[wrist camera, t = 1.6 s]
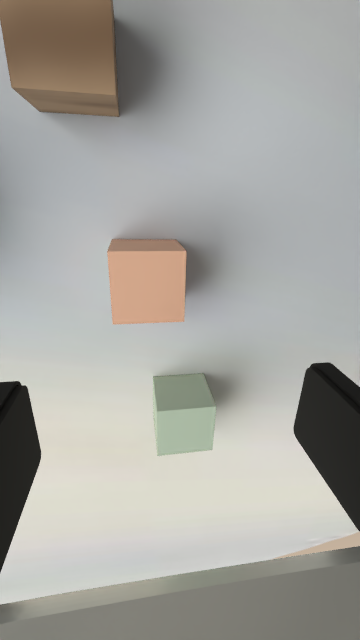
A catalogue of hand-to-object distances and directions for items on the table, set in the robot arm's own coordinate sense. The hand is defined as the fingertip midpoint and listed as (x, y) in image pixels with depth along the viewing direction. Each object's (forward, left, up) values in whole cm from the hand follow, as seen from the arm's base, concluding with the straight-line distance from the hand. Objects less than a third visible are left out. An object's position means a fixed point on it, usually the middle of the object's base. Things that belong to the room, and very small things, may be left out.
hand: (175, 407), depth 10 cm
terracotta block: (-1, 0, -16) cm, 16 cm away
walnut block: (-14, -4, -16) cm, 21 cm away
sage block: (+12, +3, -16) cm, 20 cm away
